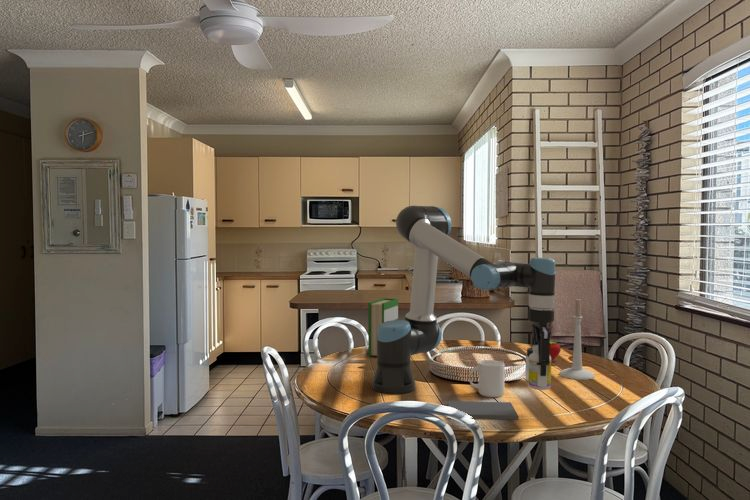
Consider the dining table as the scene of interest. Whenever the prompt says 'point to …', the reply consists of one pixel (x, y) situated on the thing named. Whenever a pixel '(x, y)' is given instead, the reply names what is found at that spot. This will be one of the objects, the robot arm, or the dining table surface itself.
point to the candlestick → (577, 351)
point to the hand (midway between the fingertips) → (539, 382)
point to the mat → (486, 409)
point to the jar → (527, 362)
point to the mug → (490, 378)
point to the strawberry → (554, 350)
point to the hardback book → (379, 319)
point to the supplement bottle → (534, 370)
